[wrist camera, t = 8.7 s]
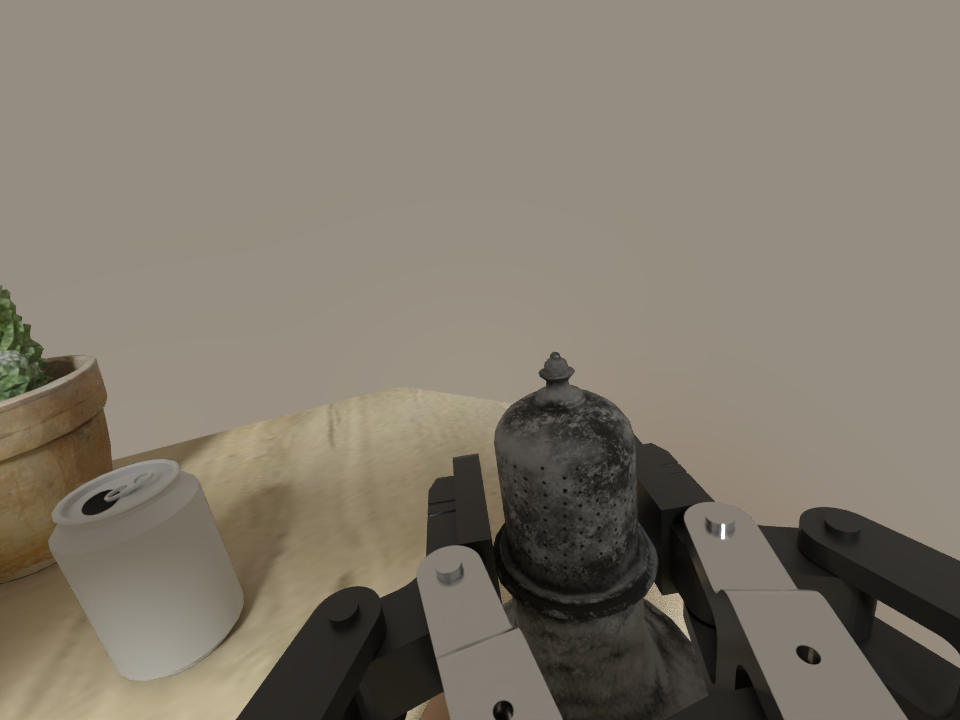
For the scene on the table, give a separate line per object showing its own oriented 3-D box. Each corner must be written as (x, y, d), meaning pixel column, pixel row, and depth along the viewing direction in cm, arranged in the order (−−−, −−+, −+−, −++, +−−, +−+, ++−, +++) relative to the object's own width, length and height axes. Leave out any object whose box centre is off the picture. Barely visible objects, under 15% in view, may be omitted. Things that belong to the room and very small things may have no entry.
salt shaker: (607, 633, 16) (587, 301, 12) (766, 821, 11) (817, 349, 7) (453, 720, 14) (371, 354, 10) (560, 1002, 9) (477, 475, 5)
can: (121, 633, 32) (43, 487, 28) (237, 573, 36) (183, 438, 32) (120, 719, 26) (22, 550, 22) (259, 636, 30) (196, 481, 26)
